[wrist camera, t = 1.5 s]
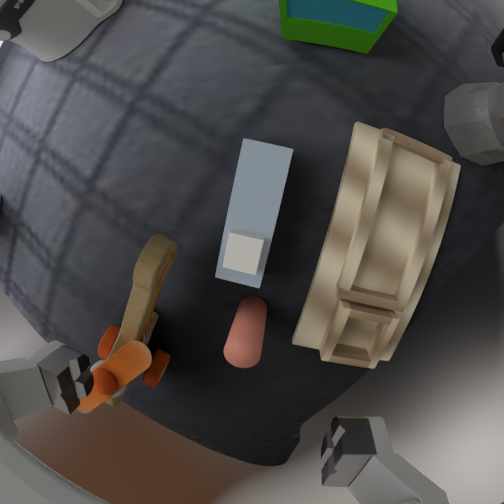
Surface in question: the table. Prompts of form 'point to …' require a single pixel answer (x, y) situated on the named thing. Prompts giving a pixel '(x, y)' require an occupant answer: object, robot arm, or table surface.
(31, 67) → the table surface
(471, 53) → the table surface
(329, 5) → the toy car
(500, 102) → the coffeepot
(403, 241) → the jig
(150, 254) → the toy helicopter
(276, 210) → the blue slab with cube
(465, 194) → the table surface
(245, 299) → the tail peg
